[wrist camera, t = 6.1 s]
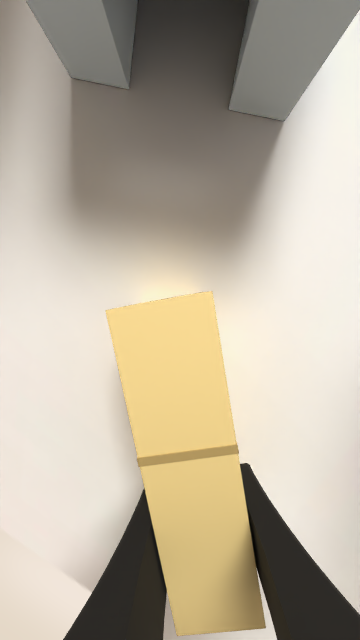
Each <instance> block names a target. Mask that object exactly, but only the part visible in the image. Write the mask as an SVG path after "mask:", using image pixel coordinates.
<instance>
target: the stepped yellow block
mask: <svg viewBox="0 0 360 640" xmlns="http://www.w3.org/2000/svg"><path fill="white" fill-rule="evenodd" d="M106 315H107V319H108V324H109V329H110V333H111V338H112V342H113V347H114V351H115V356H116V360H117V365H118V370H119V374H120V379H121V383H122V388H123V392H124V397H125V401H126V406H127V411H128V415H129V420H130V424H131V429H132V433H133V438H134V443H135V447H136V452H137V456H138V457H137V461H138V466H139V467H140V470H141V474H142V479H143V484H144V488H145V493H146V497H147V502H148V506H149V511H150V515H151V520H152V525H153V529H154V534H155V538H156V543H157V547H158V552H159V556H160V561H161V566H162V570H163V575H164V579H165V584H166V588H167V593H168V597H169V602H170V607H171V611H172V616H173V620H174V625H175V629H176V634H177V636H183V635H194V634H206V633H217V632H229V631H240V630H252V629H263V628H266V626H265V620H264V613H263V607H262V601H261V594H260V588H259V582H258V576H257V569H256V563H255V557H254V550H253V544H252V538H251V532H250V525H249V519H248V513H247V506H246V500H245V494H244V488H243V481H242V475H241V469H240V463H239V456H238V454H239V451H238V445H237V442H236V437H235V431H234V425H233V419H232V412H231V406H230V400H229V393H228V387H227V381H226V375H225V368H224V362H223V356H222V349H221V343H220V337H219V331H218V324H217V318H216V312H215V305H214V299H213V293H212V291H210V292H200V293H195V294H189V295H184V296H178V297H172V298H167V299H161V300H156V301H150V302H145V303H139V304H134V305H129V306H124V307H119V308H115V309H110V310H106Z"/></svg>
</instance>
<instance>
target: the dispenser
mask: <svg viewBox="0 0 360 640" xmlns="http://www.w3.org/2000/svg"><path fill="white" fill-rule="evenodd" d="M26 2H27V3H28V5H29V7H30V9H31V10H32V12H33V14H34V15H35V17H36V19H37V21H38V22H39V24H40V26H41V27H42V29H43V31H44V32H45V34H46V36H47V38H48V39H49V41H50V43H51V44H52V46H53V48H54V50H55V51H56V53H57V55H58V56H59V58H60V60H61V62H62V63H63V65H64V67H65V68H66V70H67V72H68V73H69V75H70V77H71V78H76V79H81V80H86V81H91V82H95V83H100V84H105V85H110V86H115V87H120V88H125V89H129V83H130V73H131V63H132V54H133V44H134V34H135V25H136V15H137V5H138V0H26ZM359 10H360V0H250V2H249V7H248V12H247V17H246V22H245V27H244V33H243V38H242V43H241V48H240V53H239V58H238V63H237V69H236V74H235V79H234V84H233V89H232V94H231V99H230V105H229V110H232V111H237V112H242V113H247V114H252V115H257V116H262V117H267V118H272V119H277V120H281V121H285V120H286V118H287V117H288V115H289V114H290V112H291V111H292V109H293V108H294V106H295V105H296V103H297V102H298V100H299V99H300V97H301V96H302V94H303V93H304V91H305V90H306V88H307V87H308V86H309V84H310V83H311V81H312V80H313V78H314V77H315V75H316V74H317V72H318V71H319V69H320V68H321V66H322V65H323V63H324V62H325V60H326V59H327V57H328V56H329V54H330V53H331V51H332V50H333V48H334V47H335V45H336V44H337V42H338V41H339V39H340V38H341V36H342V35H343V33H344V32H345V31H346V29H347V28H348V26H349V25H350V23H351V22H352V20H353V19H354V17H355V16H356V14H357V13H358V11H359Z"/></svg>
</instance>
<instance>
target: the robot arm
mask: <svg viewBox="0 0 360 640" xmlns="http://www.w3.org/2000/svg"><path fill="white" fill-rule="evenodd" d="M240 469H241V475H242V481H243V488H244V494H245V500H246V506H247V513H248V519H249V525H250V532H251V538H252V544H253V550H254V557H255V563H256V567H257V571H258V574H259V577H260V581H261V584H262V587H263V590H264V594H265V597H266V600H267V604H268V607H269V610H270V614H271V618H272V621H273V625H274V629H275V632H276V636H277V640H360V614H359V613H358V612H357V611H356V610H355V609H354V608H353V607H352V606H351V604H350V603H349V602H348V601H347V600H346V599H345V597H344V596H343V595H342V594H341V593H340V592H339V590H338V589H337V588H336V587H335V586H334V585H333V583H332V582H331V581H330V580H329V579H328V577H327V576H326V575H325V574H324V572H323V571H322V570H321V569H320V568H319V566H318V565H317V564H316V563H315V561H314V560H313V559H312V558H311V556H310V555H309V554H308V553H307V551H306V550H305V549H304V547H303V546H302V545H301V543H300V542H299V541H298V539H297V538H296V537H295V535H294V534H293V533H292V531H291V530H290V529H289V527H288V526H287V524H286V523H285V522H284V520H283V519H282V517H281V516H280V514H279V513H278V511H277V510H276V509H275V507H274V506H273V504H272V503H271V501H270V500H269V498H268V497H267V495H266V493H265V492H264V490H263V488H262V487H261V485H260V484H259V482H258V480H257V478H256V477H255V475H254V473H253V471H252V469H251V467H250V465H249V464H247V463H244V464H240ZM166 593H167V588H166V584H165V579H164V575H163V570H162V566H161V561H160V556H159V552H158V547H157V543H156V538H155V534H154V529H153V525H152V520H151V515H150V511H149V506H148V502H147V497H146V493H145V488H144V490H143V493H142V495H141V497H140V500H139V502H138V504H137V507H136V509H135V511H134V513H133V515H132V518H131V520H130V522H129V524H128V526H127V528H126V530H125V533H124V535H123V537H122V539H121V541H120V543H119V544H118V546H117V548H116V550H115V552H114V554H113V556H112V558H111V560H110V562H109V564H108V566H107V568H106V569H105V571H104V573H103V575H102V577H101V578H100V580H99V582H98V584H97V585H96V587H95V589H94V591H93V592H92V594H91V596H90V597H89V599H88V601H87V602H86V604H85V606H84V607H83V609H82V611H81V612H80V614H79V615H78V617H77V619H76V620H75V622H74V624H73V625H72V627H71V628H70V630H69V631H68V633H67V635H66V636H65V638H64V639H63V640H163V630H164V616H165V605H166Z"/></svg>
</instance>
